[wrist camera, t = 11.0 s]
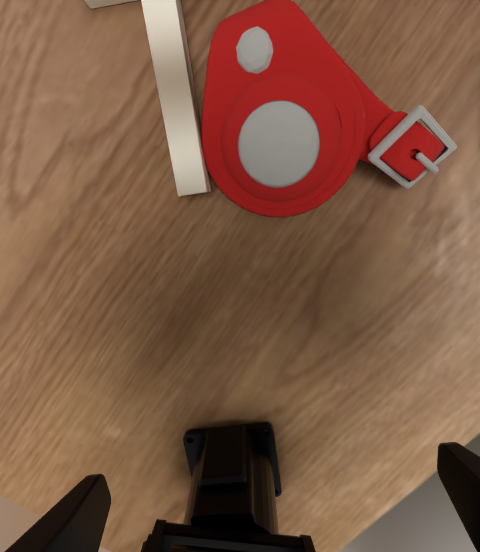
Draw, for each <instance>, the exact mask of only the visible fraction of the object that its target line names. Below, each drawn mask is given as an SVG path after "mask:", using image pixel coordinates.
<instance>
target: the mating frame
mask: <svg viewBox="0 0 480 552" xmlns="http://www.w3.org/2000/svg"><path fill="white" fill-rule="evenodd" d="M84 1H85V2H86V3H87V5H88V6H89V7H90V8H91V9H94V8H99V7H104V6H110V5H115V4H121V3H126V2H131V1H137V0H84ZM141 2H142V7H143V12H144V18H145V23H146V28H147V33H148V39H149V44H150V49H151V55H152V60H153V65H154V70H155V76H156V81H157V86H158V92H159V97H160V102H161V108H162V113H163V118H164V123H165V129H166V134H167V139H168V145H169V150H170V155H171V160H172V166H173V171H174V176H175V182H176V187H177V192H178V196H183V195H190V194H197V193H204V192H211V187H210V181H209V175H208V169H207V166H206V163H205V160H204V155H203V148H202V131H201V124H200V118H199V112H198V106H197V99H196V93H195V87H194V81H193V74H192V68H191V62H190V55H189V49H188V43H187V37H186V30H185V24H184V18H183V12H182V5H181V0H141Z"/></svg>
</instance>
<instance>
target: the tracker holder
mask: <svg viewBox="0 0 480 552" xmlns="http://www.w3.org/2000/svg"><path fill="white" fill-rule="evenodd" d="M418 119H421V120H422V121H423V122H424V123H425V124H426V125H427V127H428V128H429V129H430V130H431V131H432V132H433V133H434V134H435V135H436V137H437V138H438V139H439V140H440V141H441V142H442V143H443V144H442V143H441V142H440V141H439V140H438V139H437V138H436V137H435V136H434V135H432V134H431V133H430V132H429V131H428V130H427V129H425V128H424V127H423V126H422V125H421V124H419V123H418V122H417V120H418ZM456 147H457V145H456V144H455V143H454V142H453V140H452V139H451V138H450V137H449V136H448V135H447V133H446V132H445V131H444V130H443V129H442V127H441V126H440V125H439V124H438V123H437V122H436V120H435V119H434V118H433V117H432V116H431V115H430V113H429V112H428V111H427V110H426V109H425V108H424V106H423V105H418V106H416V107H415V108H414V109H413V110H412V111H411V112H410V113H409V114H407V113H405V112H402V111H401V112H394V111H392V110H391V109H390V108H389V107H387V106H386V105H385V104H384V103H383V102H382V101H380V100H379V99H378V98H377V97H376V96H375V95H374V94H373V93H372V91H371V90H370V89H369V88H368V87H367V86H366V85H365V84H364V83H363V81H362V80H361V79H360V78H359V77H358V76H357V75H356V74H355V73H354V71H353V70H352V69H351V68H350V67H349V66H348V65H347V64H346V63H345V61H344V60H343V59H342V58H341V57H340V56H339V55H338V54H337V53H336V51H335V50H334V49H333V48H332V47H331V46H330V45H329V44H328V43H327V41H326V40H325V39H324V38H323V36H322V35H321V34H320V32H319V31H318V30H317V29H316V27H315V26H314V25H313V23H312V22H311V21H310V20H309V18H308V17H307V16H306V15H305V13H304V12H303V11H302V10H301V9H300V8H299V7H298V6H297V4H296V3H294V2H292V1H290V0H264V1H262V2H260V3H258V4H256V5H253V6H251V7H249V8H247V9H245V10H242V11H240V12H238V13H236V14H234V15H232V16H230V17H228V18H226V19H224V20H223V21H222V22H221V23H220V24H219V25H218V27H217V29H216V31H215V33H214V35H213V38H212V41H211V46H210V51H209V56H208V63H207V72H206V81H205V89H204V97H203V106H202V148H203V155H204V160H205V163H206V166H207V169H208V171H209V173H210V175H211V176H212V178H213V180H214V181H215V183H216V184H217V186H218V187H219V188H220V190H221V191H222V192H223V193H224V194H225V195H226V196H227V197H228V198H229V199H231V200H232V201H233V202H235V203H236V204H238V205H239V206H241V207H243V208H245V209H247V210H249V211H251V212H253V213H257V214H261V215H265V216H273V217H286V216H293V215H298V214H301V213H305V212H307V211H309V210H312V209H314V208H316V207H318V206H320V205H321V204H323V203H324V202H326V201H327V200H328V199H330V198H331V197H332V196H333V195H335V194H336V192H337V191H338V190H339V189H340V188H341V187H342V186H343V185H344V184H345V182H346V181H347V180H348V178H349V177H350V175H351V174H352V172H353V170H354V168H355V166H356V164H357V162H358V160H362V161H365V162H367V163H370V164H373V165H375V166H377V167H378V168H380V169H381V170H382V171H384V172H385V173H386V174H387V175H389V176H390V177H391V178H393V179H394V180H395V181H397V182H398V183H399V184H400V185H402V186H403V187H404V188H406V189H408V188H410V187H411V186H413V185H414V184H415V183H416V182H417V181H419V180H420V179H421V178H422V177H423V176H424V175H426V174H427V173H428V172H429V171H430V172H432V173H434V174H435V173H437V172H438V171H439V168H438V167H437V166H436V165H437V164H439V163H440V162H441V161H442V160H443V159H444V158H446V157H447V156H448V155H449V154H450V153H452V152H453V151H454V150H455V149H456ZM403 176H404V177H405V178H404V177H403Z"/></svg>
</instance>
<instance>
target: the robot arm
mask: <svg viewBox="0 0 480 552" xmlns="http://www.w3.org/2000/svg"><path fill="white" fill-rule="evenodd" d="M265 430H269V431H267V432H266V431H265ZM189 437H190V438H193V439H190V438H189ZM183 442H184V446H185V450H186V455H187V459H188V463H189V467H190V472H191V476H192V481H191V487H190V492H189V497H188V502H187V508H186V513H185V518H184V524H177V523H168V522H166V520H159V519H157V520H156V523H155V526H154V529H153V532H152V534H149V536H148V538H147V541H145V542H143V545H142V549H141V552H315V548H314V545H313V542H312V539H311V536H308V535H300V537H298V536H289V535H280V534H279V532H278V521H277V510H276V499H275V497H278V496H279V495H280V494H281V483H280V476H279V468H278V461H277V453H276V446H275V438H274V430H273V426H272V425H271V424H269V423H260V424H250V425H240V426H229V427H219V428H209V429H199V430H189V431H187V432H185V434H184V438H183ZM437 470H438V474H439V477H440V479H441V481H442V483H443V485H444V487H445V489H446V491H447V493H448V495H449V497H450V499H451V501H452V503H453V505H454V507H455V509H456V511H457V513H458V515H459V517H460V519H461V521H462V523H463V525H464V527H465V529H466V531H467V533H468V535H469V537H470V539H471V541H472V543H473V545H474V547H475V548H476V550H477V552H480V456H478V455H476V454H475V453H473V452H472V451H470V450H468V449H467V448H465V447H464V446H462V445H460V444H459V443H456V442H448V443H441V444H439V446H438V459H437ZM110 505H111V495H110V492H109V489H108V486H107V483H106V479H105V477H104V475H103V474H93V475H88V476H86V477H85V478H84V479H83V480H82V481H81V482H79V483H78V484H77V485H76V486H75V487H74V488H73V489H72V490H71V491H70V492H69V493H68V494H67V495H65V496H64V497H63V498H62V499H61V500H60V501H59V502H58V503H57V504H56V505H55V506H54V507H52V508H51V509H50V510H49V511H48V512H47V513H46V514H45V515H44V516H43V517H42V518H41V519H39V520H38V521H37V522H36V523H35V524H34V525H33V526H32V527H31V528H30V529H29V530H28V531H27V532H25V533H24V534H23V535H22V536H21V537H20V538H19V539H18V540H17V541H16V542H15V543H14V544H13V545H11V546H10V547H9V548H8V549H7V550H6V551H5V552H98V550H99V546H100V543H101V539H102V535H103V531H104V528H105V524H106V520H107V517H108V513H109V509H110Z"/></svg>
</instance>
